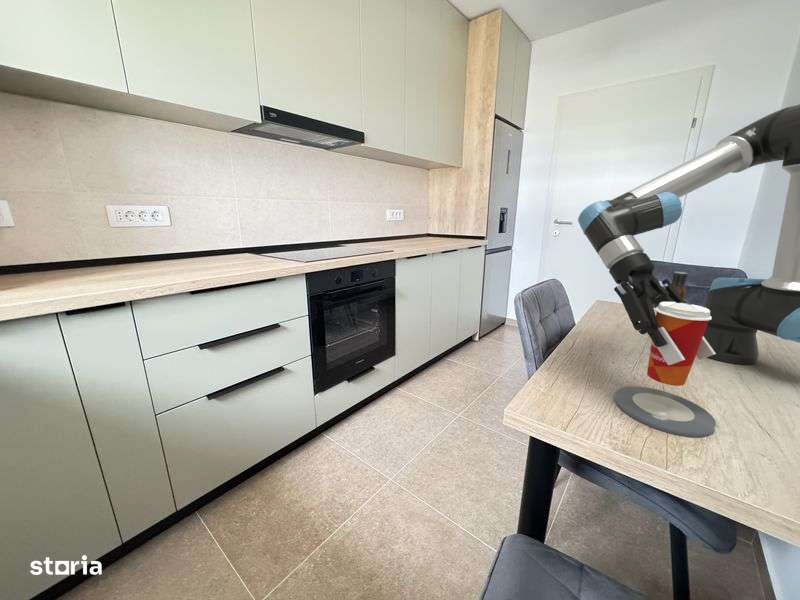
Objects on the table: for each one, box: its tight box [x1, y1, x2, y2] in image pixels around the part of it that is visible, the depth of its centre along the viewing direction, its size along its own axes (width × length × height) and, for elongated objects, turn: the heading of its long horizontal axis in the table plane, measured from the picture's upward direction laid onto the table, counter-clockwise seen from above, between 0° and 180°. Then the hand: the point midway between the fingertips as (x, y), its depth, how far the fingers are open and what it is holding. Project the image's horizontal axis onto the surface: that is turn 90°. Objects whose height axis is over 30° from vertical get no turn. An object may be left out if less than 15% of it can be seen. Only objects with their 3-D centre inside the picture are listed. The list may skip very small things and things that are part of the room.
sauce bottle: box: [670, 271, 689, 302], centre depth 122 cm, size 6×6×20 cm
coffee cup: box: [646, 302, 712, 387], centre depth 62 cm, size 8×8×15 cm
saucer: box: [614, 385, 717, 438], centre depth 66 cm, size 16×16×1 cm
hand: (692, 359), depth 60 cm, fingers closed on coffee cup, 8 cm apart
